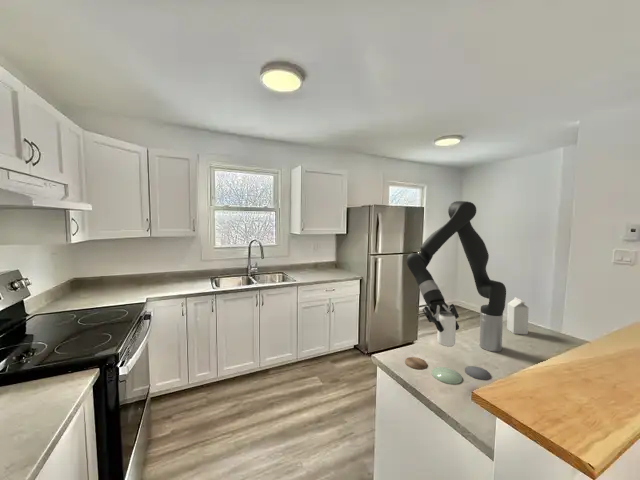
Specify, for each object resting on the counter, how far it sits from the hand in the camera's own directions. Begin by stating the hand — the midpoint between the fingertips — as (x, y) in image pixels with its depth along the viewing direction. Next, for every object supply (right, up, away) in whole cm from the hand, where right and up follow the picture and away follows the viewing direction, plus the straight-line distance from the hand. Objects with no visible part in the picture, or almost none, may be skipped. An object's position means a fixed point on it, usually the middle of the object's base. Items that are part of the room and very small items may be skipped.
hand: (449, 330), depth 106 cm
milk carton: (+60, -16, +46) cm, 77 cm away
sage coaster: (0, -19, +2) cm, 20 cm away
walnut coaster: (-9, -19, +12) cm, 24 cm away
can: (0, -6, +2) cm, 6 cm away
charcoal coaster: (+13, -19, +4) cm, 24 cm away
